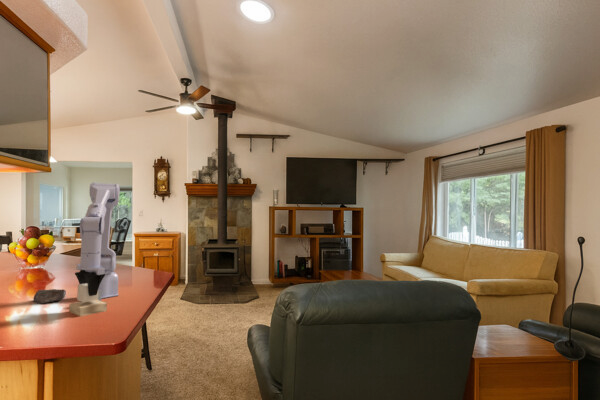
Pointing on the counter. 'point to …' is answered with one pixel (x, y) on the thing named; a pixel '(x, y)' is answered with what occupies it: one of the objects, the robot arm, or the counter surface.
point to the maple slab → (87, 307)
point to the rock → (49, 296)
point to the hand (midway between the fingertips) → (88, 294)
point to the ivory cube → (85, 293)
